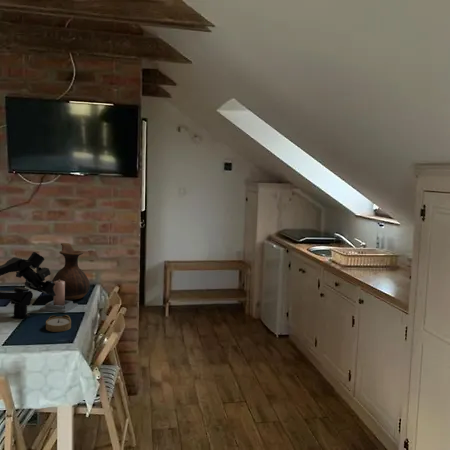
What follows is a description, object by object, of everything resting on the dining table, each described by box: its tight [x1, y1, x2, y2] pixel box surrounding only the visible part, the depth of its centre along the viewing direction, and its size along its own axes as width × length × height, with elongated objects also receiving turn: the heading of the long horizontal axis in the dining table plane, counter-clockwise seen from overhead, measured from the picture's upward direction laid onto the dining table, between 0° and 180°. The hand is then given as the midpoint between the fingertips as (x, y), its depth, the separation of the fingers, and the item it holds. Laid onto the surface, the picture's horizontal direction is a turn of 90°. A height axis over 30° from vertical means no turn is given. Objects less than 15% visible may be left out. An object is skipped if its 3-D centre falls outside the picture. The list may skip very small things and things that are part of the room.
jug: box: [51, 242, 91, 301], centre depth 287 cm, size 22×22×30 cm
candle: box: [53, 279, 66, 306], centre depth 266 cm, size 6×6×14 cm
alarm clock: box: [45, 314, 72, 333], centre depth 236 cm, size 11×5×15 cm
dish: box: [39, 299, 79, 314], centre depth 267 cm, size 14×14×3 cm
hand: (49, 293), depth 261 cm, fingers open, 9 cm apart
